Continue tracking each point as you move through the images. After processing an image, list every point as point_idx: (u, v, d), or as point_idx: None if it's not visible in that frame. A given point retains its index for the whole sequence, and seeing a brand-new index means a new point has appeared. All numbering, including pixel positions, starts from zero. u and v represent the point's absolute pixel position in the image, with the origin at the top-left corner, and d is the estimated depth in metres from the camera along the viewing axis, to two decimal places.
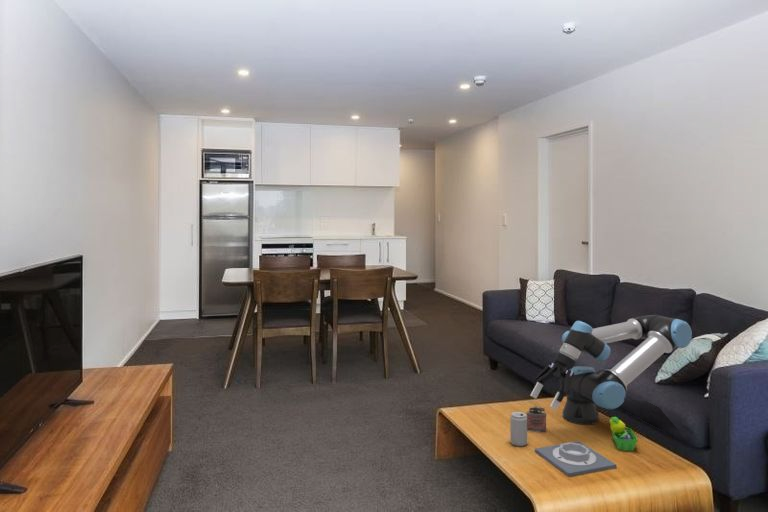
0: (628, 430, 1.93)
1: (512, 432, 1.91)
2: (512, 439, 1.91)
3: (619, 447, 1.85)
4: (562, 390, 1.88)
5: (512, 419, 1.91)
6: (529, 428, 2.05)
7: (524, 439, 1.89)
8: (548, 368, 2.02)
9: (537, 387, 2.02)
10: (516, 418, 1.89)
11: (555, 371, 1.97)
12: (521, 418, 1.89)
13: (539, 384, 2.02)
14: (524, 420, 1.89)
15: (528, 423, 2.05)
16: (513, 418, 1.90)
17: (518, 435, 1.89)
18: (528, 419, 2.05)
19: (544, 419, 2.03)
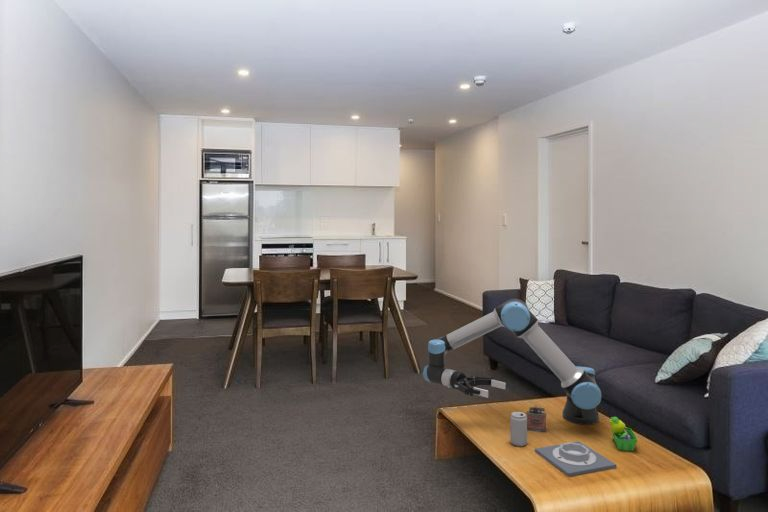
0: (628, 430, 1.93)
1: (512, 432, 1.91)
2: (512, 439, 1.91)
3: (619, 447, 1.85)
4: None
5: (512, 419, 1.91)
6: (529, 428, 2.05)
7: (524, 439, 1.89)
8: None
9: (495, 385, 2.06)
10: (516, 418, 1.89)
11: None
12: (521, 418, 1.89)
13: (492, 384, 2.07)
14: (524, 420, 1.89)
15: (528, 423, 2.05)
16: (513, 418, 1.90)
17: (518, 435, 1.89)
18: (528, 419, 2.05)
19: (544, 419, 2.03)
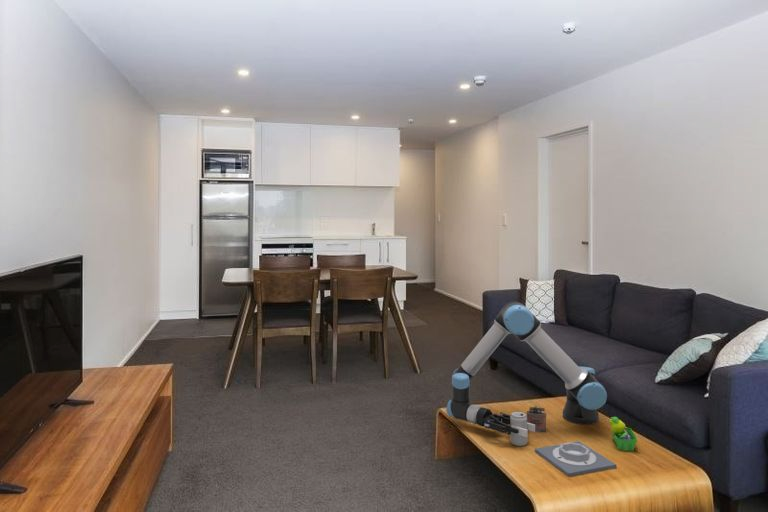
0: (628, 430, 1.93)
1: None
2: (512, 439, 1.91)
3: (619, 447, 1.85)
4: (507, 431, 1.90)
5: (512, 419, 1.91)
6: None
7: (524, 439, 1.89)
8: None
9: None
10: (516, 418, 1.89)
11: None
12: (521, 418, 1.89)
13: None
14: (524, 420, 1.89)
15: None
16: (513, 418, 1.90)
17: (518, 435, 1.89)
18: (528, 419, 2.05)
19: (544, 419, 2.03)
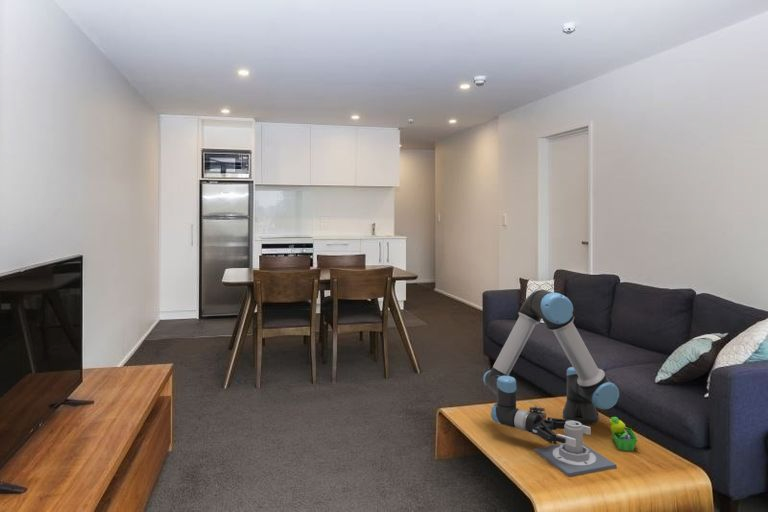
0: (628, 430, 1.93)
1: None
2: (567, 450, 1.77)
3: (619, 447, 1.85)
4: None
5: (567, 429, 1.77)
6: None
7: (580, 450, 1.75)
8: None
9: None
10: (571, 427, 1.76)
11: None
12: (577, 427, 1.75)
13: None
14: (580, 430, 1.75)
15: None
16: (568, 427, 1.76)
17: None
18: None
19: (544, 419, 2.03)
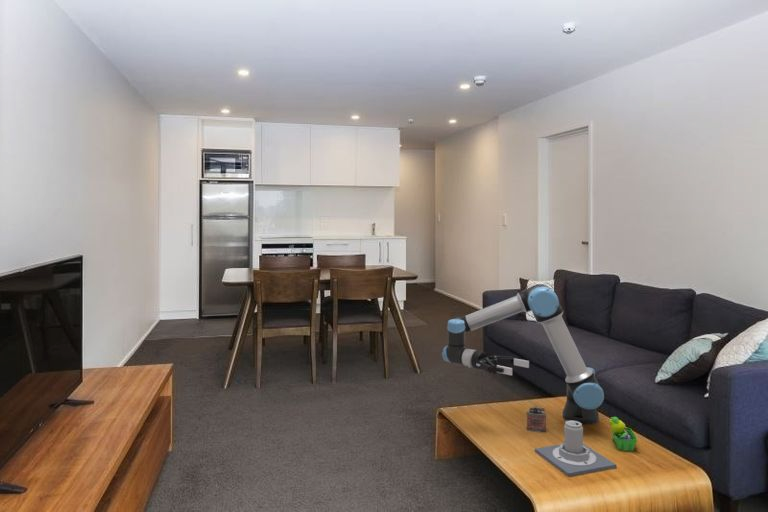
0: (628, 430, 1.93)
1: (567, 443, 1.77)
2: (567, 450, 1.77)
3: (619, 447, 1.85)
4: None
5: (567, 428, 1.77)
6: (529, 428, 2.05)
7: (580, 450, 1.75)
8: None
9: (518, 364, 2.00)
10: (572, 427, 1.76)
11: None
12: (577, 427, 1.75)
13: (515, 363, 2.01)
14: (580, 430, 1.75)
15: (528, 423, 2.05)
16: (568, 427, 1.76)
17: (573, 446, 1.75)
18: (528, 419, 2.05)
19: (544, 419, 2.03)
